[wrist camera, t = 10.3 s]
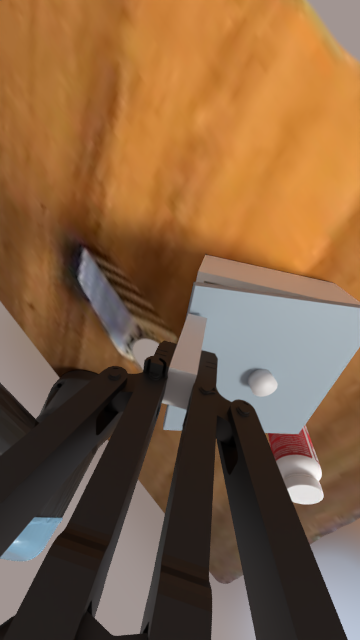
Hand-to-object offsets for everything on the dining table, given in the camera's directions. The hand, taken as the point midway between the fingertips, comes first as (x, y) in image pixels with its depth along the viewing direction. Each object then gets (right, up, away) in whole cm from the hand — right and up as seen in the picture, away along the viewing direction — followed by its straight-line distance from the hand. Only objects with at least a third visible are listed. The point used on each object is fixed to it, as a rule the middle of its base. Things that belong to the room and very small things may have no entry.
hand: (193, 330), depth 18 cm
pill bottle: (+17, -17, +21) cm, 32 cm away
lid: (+7, -4, +5) cm, 9 cm away
